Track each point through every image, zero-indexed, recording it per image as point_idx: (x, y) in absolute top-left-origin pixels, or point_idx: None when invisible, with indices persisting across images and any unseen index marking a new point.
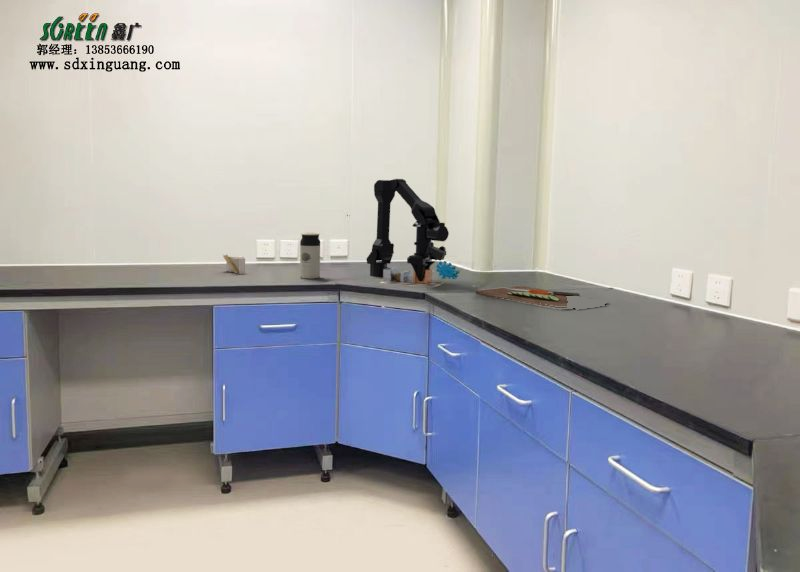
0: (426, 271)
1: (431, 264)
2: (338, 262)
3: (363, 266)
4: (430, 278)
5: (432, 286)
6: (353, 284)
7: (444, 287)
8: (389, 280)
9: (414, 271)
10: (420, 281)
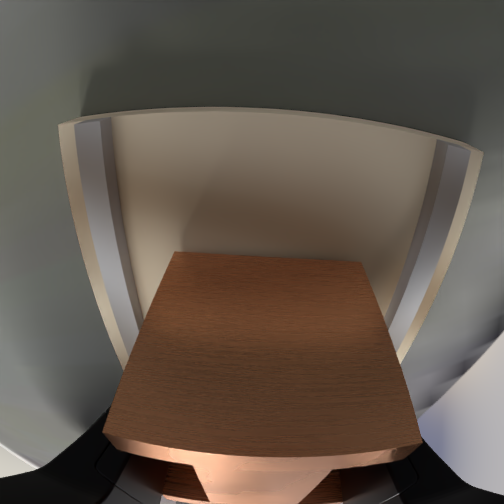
0: (407, 431)
1: (50, 501)
2: (27, 460)
3: (12, 443)
4: (223, 301)
5: (457, 172)
6: None
7: (131, 79)
8: None
9: (337, 482)
10: None
